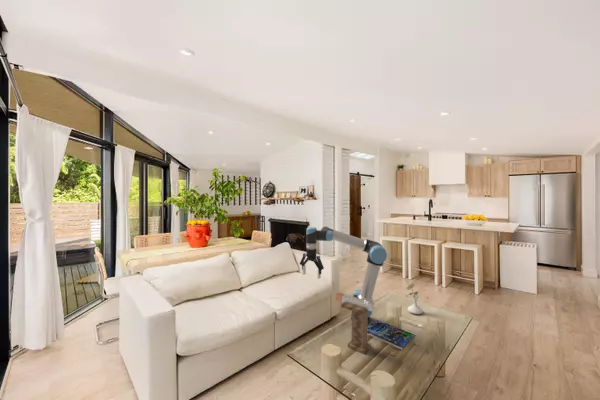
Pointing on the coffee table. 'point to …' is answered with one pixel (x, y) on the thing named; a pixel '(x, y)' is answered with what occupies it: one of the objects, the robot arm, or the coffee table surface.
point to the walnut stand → (358, 328)
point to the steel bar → (355, 301)
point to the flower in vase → (414, 307)
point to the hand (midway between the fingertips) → (311, 276)
